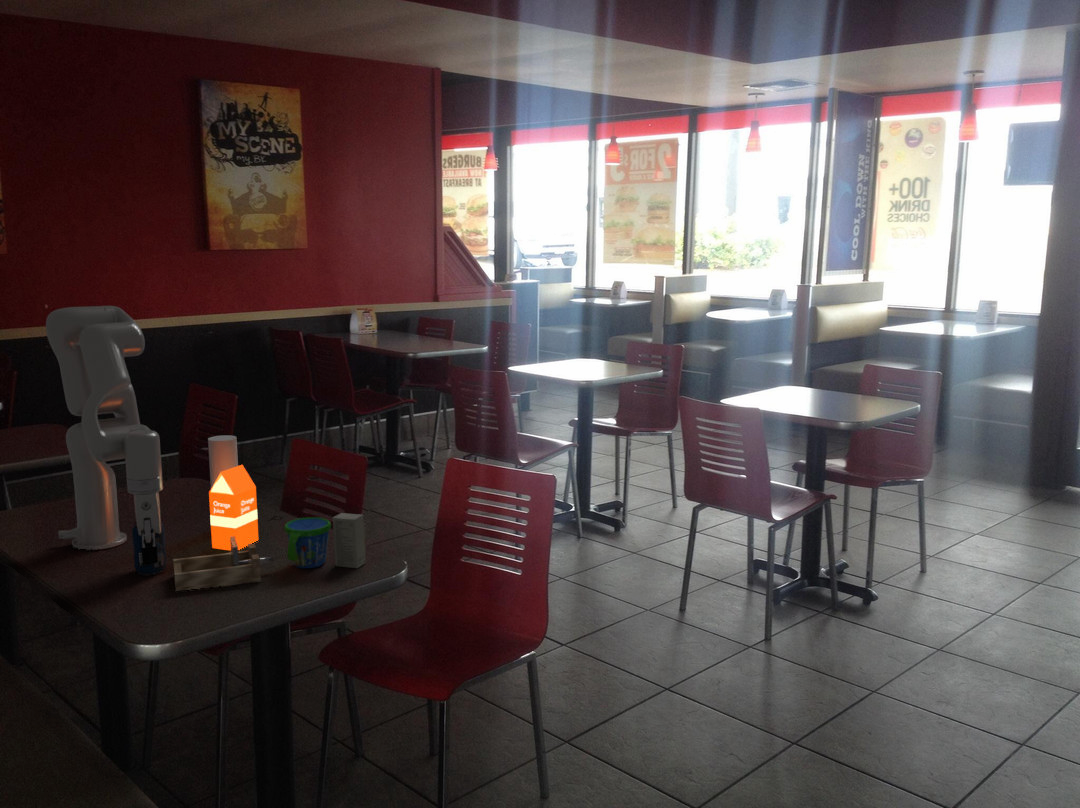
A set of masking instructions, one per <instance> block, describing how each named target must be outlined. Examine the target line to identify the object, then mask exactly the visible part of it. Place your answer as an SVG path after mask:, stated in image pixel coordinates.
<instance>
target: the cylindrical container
mask: <svg viewBox="0 0 1080 808" xmlns="http://www.w3.org/2000/svg"><path fill="white" fill-rule="evenodd" d="M237 439H238V438H237V436H235V435H230V434H229V435H226V434H225V435H224V434H223V435H222V434H221V435H214V436H211V437H208V438H207V444H208V447H207V448H208V459H209V460H208V461H209V478H210V479H209V480H210V490H211V489H212V487H213V485H214V483H215V481H216V480H217V478H218V476H219V474H220V472H222V471H225V470H228V469H231V468H233V467H236V466H239V460H238V459H239V457H238V441H237Z"/></svg>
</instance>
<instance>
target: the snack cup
mask: <svg viewBox="0 0 1080 808" xmlns="http://www.w3.org/2000/svg"><path fill="white" fill-rule="evenodd" d="M331 528H332V523H331V521H330V520H328V519H327V518H324V517H317V516H316V517H314V516H312V517H310V516H307V517H299V518H294V519H293V520H292V519H291V520H289V521H288V522H287V523H285V525H284V527H283V531H284V532H285V534H286V535H287V539H288V540H287V541H288V545H287V552H286V553H287V554H286V557H287V559H288V560H289V561H291V562H292V563H293V566H295V567H297V568H299V569H314V568H315V569H316V568H318V567H321V566H322V565H324V563H326V559H327V552H328V543H329V538H330V536H329V533H330V530H331Z"/></svg>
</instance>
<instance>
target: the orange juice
mask: <svg viewBox="0 0 1080 808" xmlns="http://www.w3.org/2000/svg"><path fill="white" fill-rule="evenodd" d="M208 497H209V498H208V500H209V513H210V515H209V517H210V518H209V520H210V532H211V533H210V534H211V545H212V546H211V548H212V549H218V550H224V551H229V552H231V543H230V537H232V536H235V539H236V543H237V546H238V550H239V551H241V550H243V549H245V548H247V547H248V544H252V543H254V542H256V541H258V540H259V524H258V523H259V521H258V519H259V517H258V506H257V505H258V503H257V501H258V500H257V486H256V484H255V483H254V482H253V480H252V478H251V476H250V474H249V473H248V471H247V469H246V468H245V467H244V465H243V464H241V465H239V464H238V466H236V467H233V468H231V469H228V470H225V471H222V472H220V474H219V476H218V478H217V480H216V481H215V483H214V485H213V487H212V489H211V488H210V490H209V491H208ZM258 542H259V541H258ZM256 543H257V542H256ZM254 544H255V543H254ZM246 546H247V547H246ZM244 547H245V548H244ZM242 548H243V549H242ZM240 549H241V550H240Z"/></svg>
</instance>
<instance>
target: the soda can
mask: <svg viewBox="0 0 1080 808" xmlns="http://www.w3.org/2000/svg"><path fill="white" fill-rule="evenodd" d="M133 524H134V525H133V527H132V529H131V536H132V537H131V538H132V550H133V551H132V552H133V564H134V569H135V571H136V572H137V573H138V574H139V573H140V574H153V573H158V572H160V571H162V572H164V571H163V570H165V569H166V566H167V565H168V563H167V551H166V537H165V526H164V525H163V523H162V522H161V533H160V534H158V533H155V546H157V558H158V562H157V563H152V564H143V562H142V534H141V536H140V535H139V534H138V528H137V522H136V521H135V522H134V523H133ZM150 524H151V520H150ZM144 525H145V524H144ZM141 532H142V531H141ZM151 533H153V528H152V530H151ZM143 534H145V531H143ZM144 538H145V537H144ZM151 538H152V536H151ZM152 539H153V538H152ZM140 574H139V575H140ZM158 574H159V573H158Z"/></svg>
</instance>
